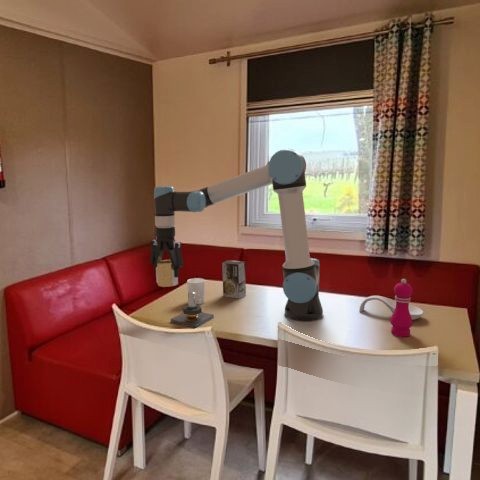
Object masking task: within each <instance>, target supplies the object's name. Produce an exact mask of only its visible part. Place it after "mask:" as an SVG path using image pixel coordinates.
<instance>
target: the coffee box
mask: <svg viewBox="0 0 480 480" xmlns="http://www.w3.org/2000/svg"><path fill="white" fill-rule="evenodd" d="M221 264H222V267H221V270H222V294H223V295H222V296H223V297H226V298H234V299H238V300H239V299H242V298H243V297H246V296H247V294H246V293H247V291H246V290H247V286H246V284H247V283H246V282H247V281H246V280H247V279H246V261H241V260H233V259H232V260H231V259H230V260H229V259H228V260H225V261H223V262H222V263H221Z"/></svg>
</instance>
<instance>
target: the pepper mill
mask: <svg viewBox="0 0 480 480" xmlns="http://www.w3.org/2000/svg"><path fill="white" fill-rule="evenodd" d="M393 292H394V294H395V296H394V300H395V301H396V308H395V310H394V312H393V313H392V314H391V316H390V321H389V322H390V325H391V326H392V327H391V328H390V329H391V330H390V333H391V335H393V336H395V337H399V338H407V337H410V336H411V329H410V328H411V327H412V326H413V320H412V318H411V315H410V313H409V305H410V302H411V298H412V297H411V296H412V294H413V292H414V290H413V288H412V285H410V284H409V283H407V279H406V278H402V279H401V280H400V282H399V283H396V284H395V286H394V287H393Z"/></svg>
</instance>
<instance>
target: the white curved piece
mask: <svg viewBox="0 0 480 480" xmlns="http://www.w3.org/2000/svg"><path fill="white" fill-rule="evenodd" d="M373 300H374V301H379V302H382V303H383V304H384V305H385V306H386V307H387V308H388V309H389V310H390V312H391V313H392V314H393V312H394V310H395V308H396V300H395V299H391V298H388V297H385V296H381V295H370V296H367V297H366V298H364V300H363V301H362V302H361V304H360V306H359V312H360V313H362V312H363V311H364V310H365V306H366V304H367V303H368V302H369V301H373ZM409 313H410V315H411V318H412V321H415V320H418V319H419V318H421V317H422V316H423V315H424V310H422V308H420V307H417V306H415V305H412V304H409Z"/></svg>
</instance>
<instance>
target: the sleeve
mask: <svg viewBox="0 0 480 480" xmlns="http://www.w3.org/2000/svg"><path fill="white" fill-rule="evenodd" d="M172 269H173V266H172V263H171V260H170V259H163V260H161V261H158V262H157V276H158V283H157V285H158V287H162V288H166V287H168V288H169V287H173V286H172Z"/></svg>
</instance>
